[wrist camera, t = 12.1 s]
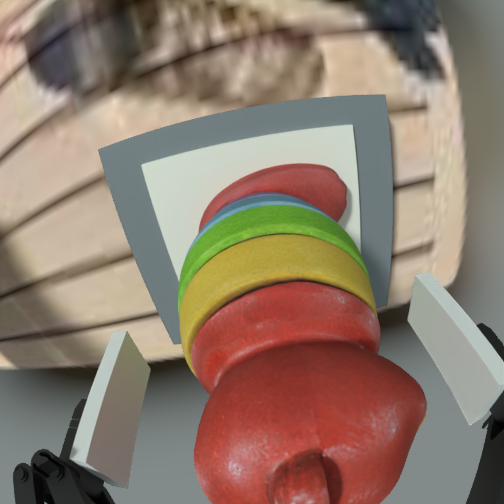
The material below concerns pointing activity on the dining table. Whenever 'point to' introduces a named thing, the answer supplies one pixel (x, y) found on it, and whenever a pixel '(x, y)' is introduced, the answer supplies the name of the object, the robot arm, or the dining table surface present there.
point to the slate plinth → (244, 163)
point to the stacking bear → (290, 349)
